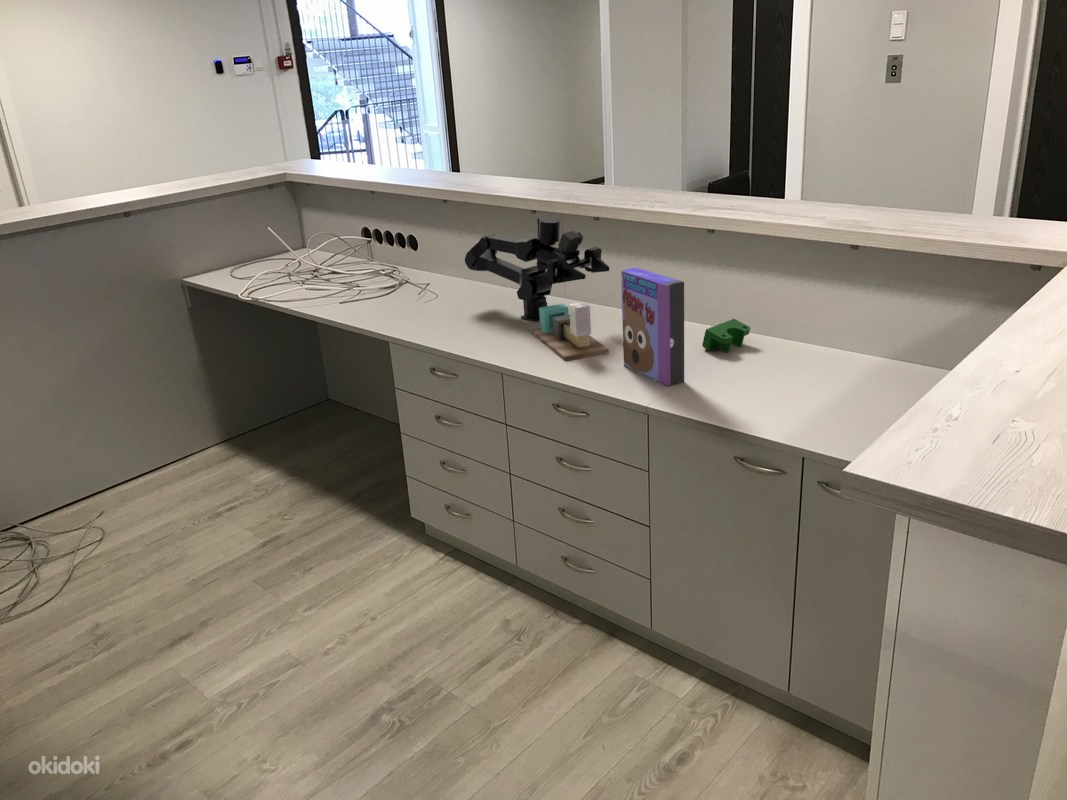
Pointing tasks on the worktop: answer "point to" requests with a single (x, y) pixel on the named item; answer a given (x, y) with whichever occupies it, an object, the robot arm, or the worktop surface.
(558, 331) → the sleeve
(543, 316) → the socket block
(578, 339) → the white-capped post
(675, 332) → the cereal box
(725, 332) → the clamp
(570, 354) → the base board
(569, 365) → the worktop surface
